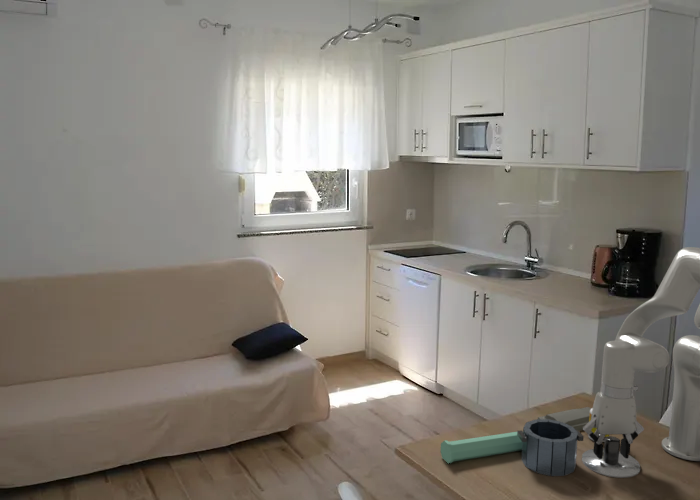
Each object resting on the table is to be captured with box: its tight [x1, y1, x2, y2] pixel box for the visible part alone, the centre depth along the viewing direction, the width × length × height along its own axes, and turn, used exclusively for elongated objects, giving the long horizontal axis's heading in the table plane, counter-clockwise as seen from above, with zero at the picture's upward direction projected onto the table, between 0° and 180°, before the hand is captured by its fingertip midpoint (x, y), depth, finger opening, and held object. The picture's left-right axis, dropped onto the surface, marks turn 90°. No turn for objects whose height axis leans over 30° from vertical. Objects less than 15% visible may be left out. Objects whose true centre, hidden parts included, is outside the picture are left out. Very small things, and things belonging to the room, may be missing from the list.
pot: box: [516, 418, 585, 477], centre depth 167 cm, size 16×13×9 cm
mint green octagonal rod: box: [440, 431, 523, 465], centre depth 172 cm, size 6×6×25 cm
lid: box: [581, 435, 641, 479], centre depth 167 cm, size 14×14×7 cm
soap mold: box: [537, 406, 592, 432], centre depth 191 cm, size 10×20×4 cm, turn 114°
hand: (611, 455), depth 167 cm, fingers open, 6 cm apart
